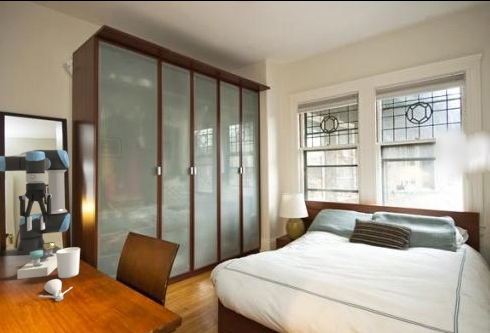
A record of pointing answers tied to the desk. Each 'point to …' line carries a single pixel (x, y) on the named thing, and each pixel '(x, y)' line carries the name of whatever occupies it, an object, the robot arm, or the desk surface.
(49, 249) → the knob
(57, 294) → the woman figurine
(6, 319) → the desk surface
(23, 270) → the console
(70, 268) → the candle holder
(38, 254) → the knob
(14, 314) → the desk surface
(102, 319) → the desk surface
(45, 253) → the knob mid
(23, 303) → the desk surface
